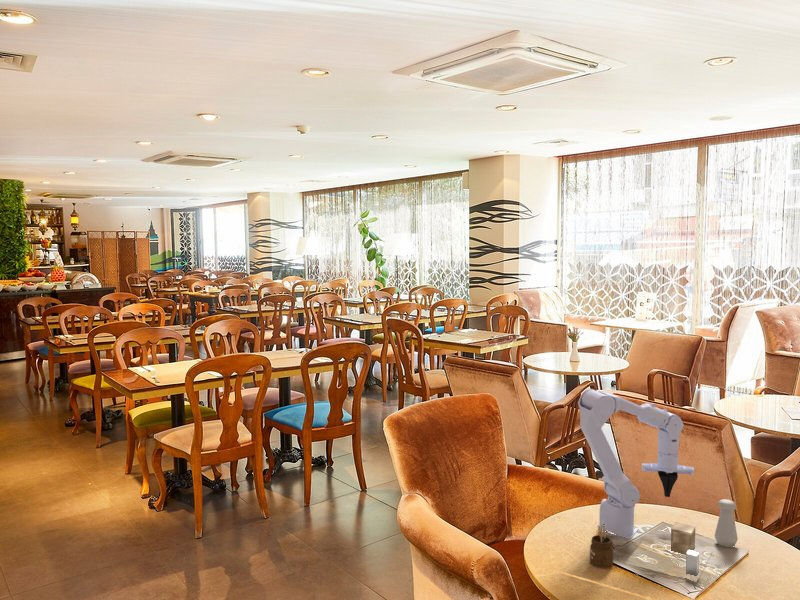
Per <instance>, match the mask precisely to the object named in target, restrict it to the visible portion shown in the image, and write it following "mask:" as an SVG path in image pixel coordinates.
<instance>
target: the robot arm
mask: <svg viewBox="0 0 800 600" xmlns="http://www.w3.org/2000/svg"><path fill="white" fill-rule="evenodd" d="M579 397H580V398H579V399H578V401H577V405H578V408H579V423H580V425H579V426H580V429H581V431H582V433H583V435H584V438H585V439H586V442H587V444H588V445H589V447H590V449H591V452H592V454H593V455H594V456H593V457H594V458H595V460H596V461H597V464H598V466H599V468H600V470H601V472H602V474H603V476H602V478H601V479H602V481H603V488H604V489H603V490H604V492H605V493H606V495H607V498H603V499H602V500H601V502H600V504H599V505H600V506H599V518H598V519H599V523H598V524H599V525H598V526H600V533H601V526H602V528H603V525H606V526H604V527H605V530H608V531H611V532H612V533H614V534H616V535H619V536H618V537H620V536H622V537H621V538H624V537H625V538H624V539H628V538H629V539H628V540H631V539H632V538H633V537H634V536H635V534H636V533H637V531H639V528H638V527H634V526H635V507H636V504H637V503H638V502H639V501H640V500H639V499H640V494H641V493H640V491H639V489H638V488H637V486H635V485H633V484H632V481H631V480H630V479H629V477H627V475H625V473H624V472H623V470H622V468H621V465H620V464H619V462H618V459H617V457H616V455H615V453H614V451H613V450H612V448H611V446H610V444H609V441H608V440H607V437H606V435H605V433H604V431H603V429H602V427H603V426H604V425H605V424H606V422H607V421H608V420H609V419H610V417H612V415H613V413H618V411H623V412H626V413H629V414H631V415H635V416H636V418H637V420H638V421H639V422H641V423H643V424H646V425H648V426H651V427H654V428H656V429H657V462H653V463H647V462H646V463H641V471H642V472H655V473H657V474H658V477H659V478H660V481H661V483H662V487H663V494H664V497H665V498H671V493H672V490H673V487H674V485H675V483H676V482H677V481H678V478H679V475H678V474H682V475H690V476H695V468H694V467H693V466H687V465H682V464H681V465H680V464H679V446H680V445H679V443H680V442H679V440H680V437H681V432H682V431H683V429H684V426H685V424H684V423H683V421H682V418H681V416H679V415H677V414H675V413H671V412H669V410H668V409H666V408H659V407H657V406H656V404H655V403H652V402H649V403H643V404H641V405H639V404H637V403H635V402H632V401H631V400H628V399H626V398H623V397H621V396H618V395H615V394H614V393H613V394H612V393H610V392H604V391H600V390H599V391H598V390H595V389H593V388H588V389H586V390H584V391H583V392H582V393H581V395H580V396H579ZM600 522H601V523H600ZM605 523H606V524H605ZM616 535H615V536H616ZM632 536H633V537H632ZM631 537H632V538H631ZM630 538H631V539H630Z"/></svg>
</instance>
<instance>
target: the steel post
mask: <svg viewBox="0 0 800 600" xmlns="http://www.w3.org/2000/svg"><path fill="white" fill-rule="evenodd" d="M698 573H699V552H696V551H692V550H688V551H687V553H686V574H690V575H694V576H697V575H698Z"/></svg>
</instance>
